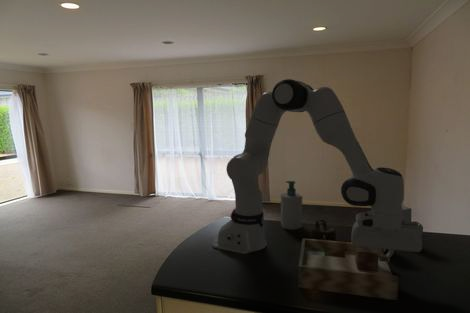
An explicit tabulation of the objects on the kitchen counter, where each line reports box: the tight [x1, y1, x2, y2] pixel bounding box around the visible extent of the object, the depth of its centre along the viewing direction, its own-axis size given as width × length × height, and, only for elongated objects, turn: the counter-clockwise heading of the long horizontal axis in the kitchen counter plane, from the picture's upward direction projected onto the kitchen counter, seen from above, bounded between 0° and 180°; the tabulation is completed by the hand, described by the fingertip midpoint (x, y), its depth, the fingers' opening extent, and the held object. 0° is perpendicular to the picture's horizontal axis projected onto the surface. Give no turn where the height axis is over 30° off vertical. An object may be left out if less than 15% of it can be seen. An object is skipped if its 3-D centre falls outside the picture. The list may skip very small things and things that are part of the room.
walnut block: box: [355, 247, 378, 272], centre depth 99 cm, size 6×6×5 cm
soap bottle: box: [280, 180, 303, 231], centre depth 145 cm, size 10×9×22 cm
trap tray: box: [297, 238, 400, 301], centre depth 101 cm, size 28×22×7 cm
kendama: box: [311, 219, 337, 241], centre depth 133 cm, size 6×10×20 cm
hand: (384, 260), depth 97 cm, fingers closed
